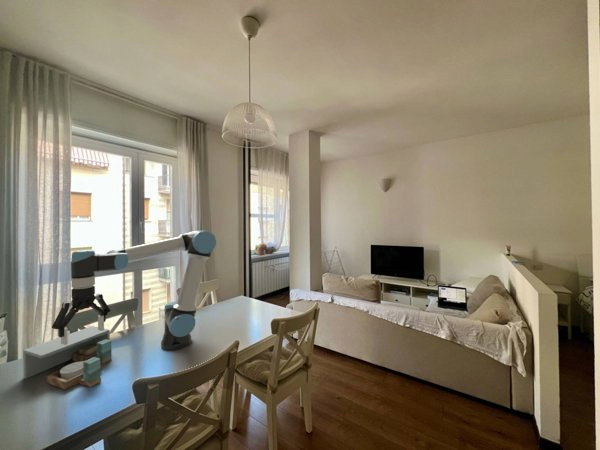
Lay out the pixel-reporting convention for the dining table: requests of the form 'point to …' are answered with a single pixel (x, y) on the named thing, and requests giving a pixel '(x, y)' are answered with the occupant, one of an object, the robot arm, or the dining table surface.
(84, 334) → the shelf
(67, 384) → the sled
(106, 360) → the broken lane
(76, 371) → the ramekin
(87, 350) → the oak cube
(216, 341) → the dining table surface
